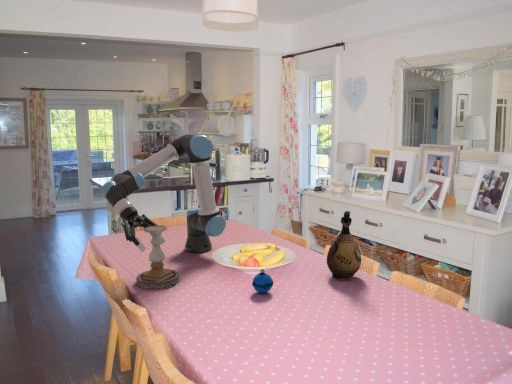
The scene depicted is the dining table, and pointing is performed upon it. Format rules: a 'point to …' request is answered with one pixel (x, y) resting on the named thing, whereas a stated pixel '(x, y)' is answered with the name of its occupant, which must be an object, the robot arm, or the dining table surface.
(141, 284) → the tray
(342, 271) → the ceramic jug
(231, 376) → the dining table surface
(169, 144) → the robot arm
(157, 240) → the candle holder
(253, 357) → the dining table surface
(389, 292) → the dining table surface
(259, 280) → the ornament
